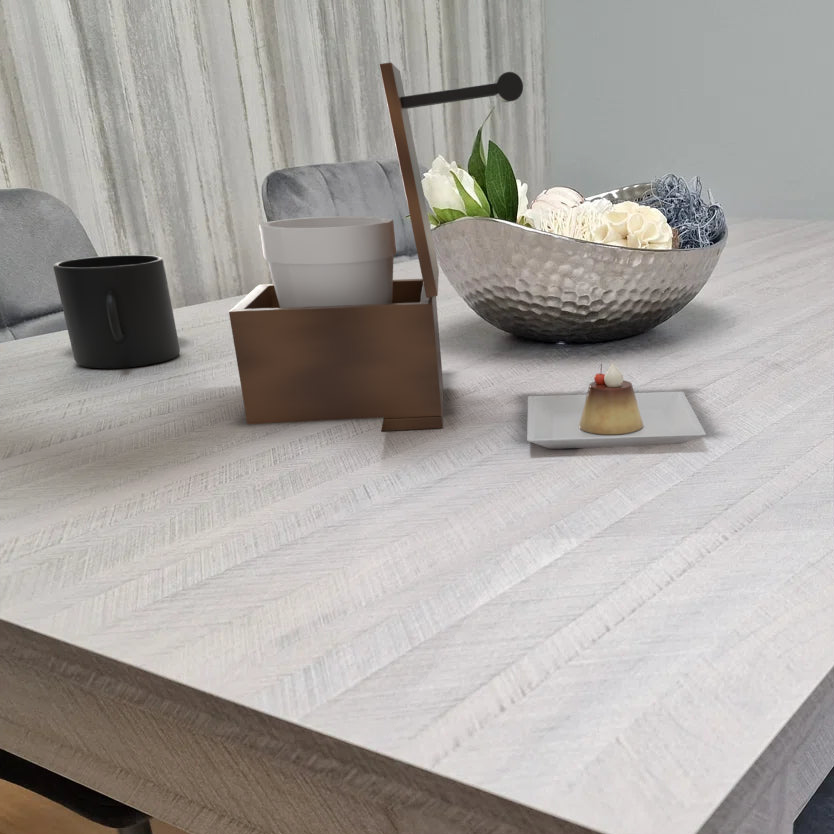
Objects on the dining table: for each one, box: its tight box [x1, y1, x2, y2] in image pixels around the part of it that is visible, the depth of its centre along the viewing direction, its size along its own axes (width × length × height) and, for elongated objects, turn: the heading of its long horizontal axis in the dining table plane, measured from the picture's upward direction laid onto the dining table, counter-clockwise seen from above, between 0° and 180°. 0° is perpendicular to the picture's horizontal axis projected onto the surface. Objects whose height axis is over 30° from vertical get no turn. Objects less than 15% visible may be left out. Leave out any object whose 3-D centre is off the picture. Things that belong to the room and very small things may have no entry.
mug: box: [52, 254, 181, 370], centre depth 97 cm, size 9×12×9 cm
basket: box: [228, 278, 444, 432], centre depth 79 cm, size 14×13×9 cm
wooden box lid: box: [378, 61, 524, 298], centre depth 75 cm, size 15×13×9 cm
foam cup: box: [258, 215, 397, 308], centre depth 78 cm, size 10×9×13 cm
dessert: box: [526, 363, 707, 450], centre depth 74 cm, size 12×12×5 cm
